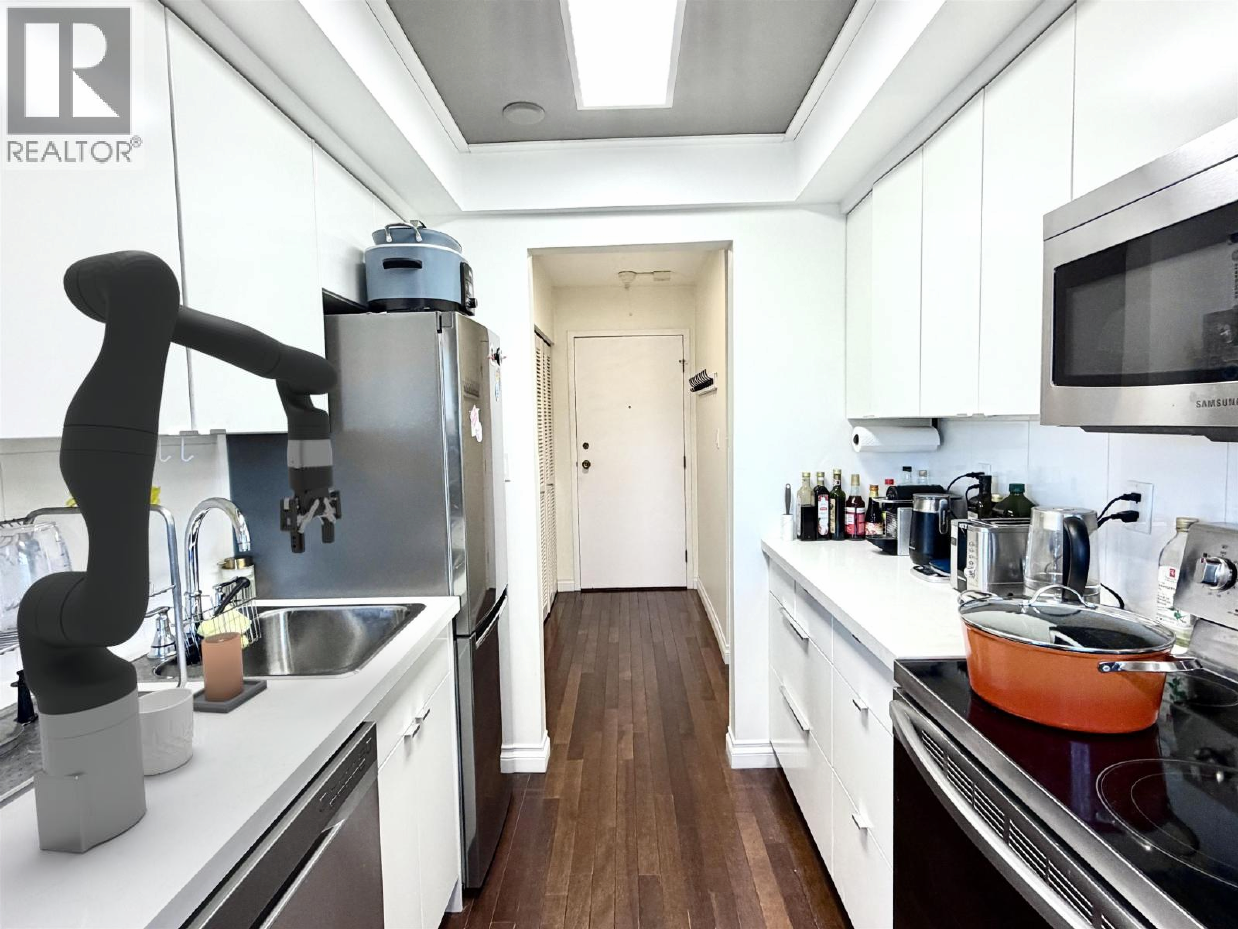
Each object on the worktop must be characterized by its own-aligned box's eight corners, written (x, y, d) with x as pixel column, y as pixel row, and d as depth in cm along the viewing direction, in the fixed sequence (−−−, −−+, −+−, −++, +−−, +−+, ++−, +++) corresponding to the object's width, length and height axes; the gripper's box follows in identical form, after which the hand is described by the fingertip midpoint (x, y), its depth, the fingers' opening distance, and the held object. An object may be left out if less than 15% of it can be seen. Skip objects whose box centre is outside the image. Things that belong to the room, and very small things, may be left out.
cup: (226, 703, 102) (222, 644, 101) (196, 701, 103) (192, 643, 102) (251, 688, 108) (248, 632, 107) (223, 686, 108) (220, 631, 108)
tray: (227, 713, 100) (226, 704, 100) (179, 710, 101) (178, 701, 101) (267, 688, 109) (266, 680, 109) (222, 685, 111) (222, 677, 110)
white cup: (139, 785, 80) (134, 718, 79) (124, 765, 85) (120, 702, 84) (204, 759, 86) (200, 697, 86) (187, 741, 91) (184, 682, 90)
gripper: (317, 461, 114) (320, 539, 115) (264, 466, 99) (268, 556, 101) (351, 461, 113) (354, 540, 114) (303, 466, 99) (306, 557, 100)
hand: (314, 547), depth 107 cm, fingers open, 8 cm apart
